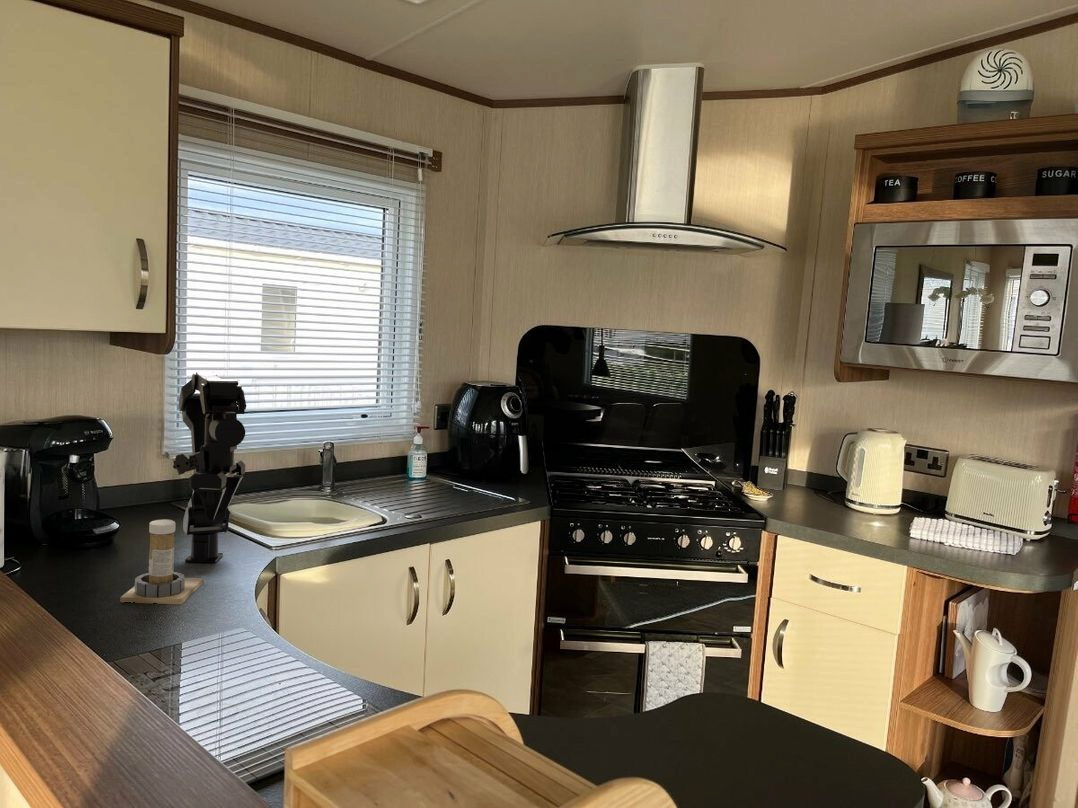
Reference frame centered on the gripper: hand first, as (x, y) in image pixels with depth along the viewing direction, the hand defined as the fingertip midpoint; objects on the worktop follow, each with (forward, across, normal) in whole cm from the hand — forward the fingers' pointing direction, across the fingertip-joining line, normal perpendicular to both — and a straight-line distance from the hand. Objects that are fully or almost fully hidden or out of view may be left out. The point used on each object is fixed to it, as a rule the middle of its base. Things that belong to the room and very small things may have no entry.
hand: (217, 514), depth 176 cm
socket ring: (+13, +13, -6) cm, 20 cm away
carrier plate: (+13, +11, -6) cm, 18 cm away
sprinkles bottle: (+12, +13, -6) cm, 19 cm away
